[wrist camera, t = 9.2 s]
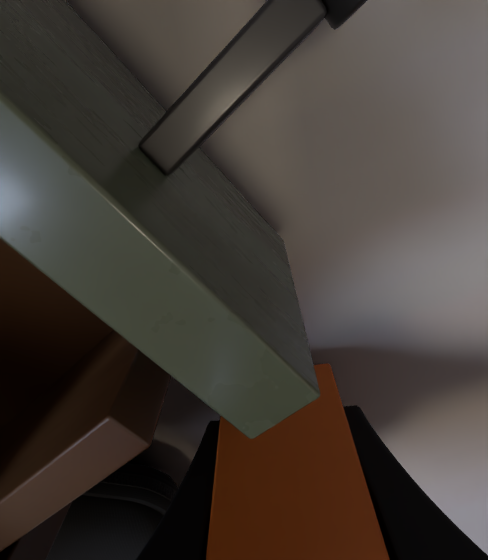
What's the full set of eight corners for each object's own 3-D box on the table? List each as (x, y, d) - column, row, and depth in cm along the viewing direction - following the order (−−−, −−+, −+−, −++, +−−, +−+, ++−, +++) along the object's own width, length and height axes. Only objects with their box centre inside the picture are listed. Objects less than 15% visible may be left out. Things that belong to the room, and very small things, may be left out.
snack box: (244, 459, 13) (237, 772, 7) (223, 374, 12) (191, 686, 5) (337, 450, 13) (416, 768, 7) (329, 361, 11) (426, 675, 5)
